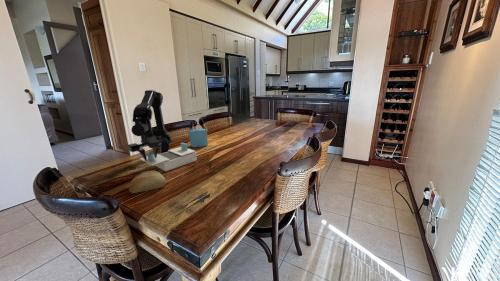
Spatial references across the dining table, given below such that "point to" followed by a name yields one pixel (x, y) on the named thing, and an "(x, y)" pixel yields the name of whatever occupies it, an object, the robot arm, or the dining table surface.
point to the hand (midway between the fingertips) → (150, 159)
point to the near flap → (154, 159)
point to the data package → (198, 138)
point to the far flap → (182, 150)
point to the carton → (175, 160)
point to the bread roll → (147, 181)
